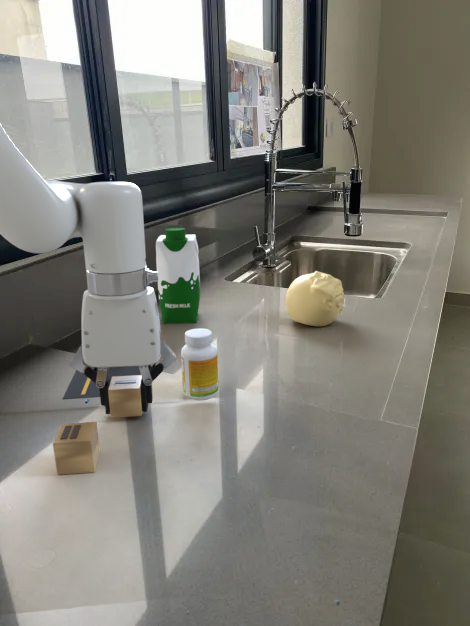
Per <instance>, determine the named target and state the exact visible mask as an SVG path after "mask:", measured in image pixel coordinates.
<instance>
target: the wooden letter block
mask: <svg viewBox="0 0 470 626" xmlns="http://www.w3.org/2000/svg"><path fill="white" fill-rule="evenodd" d="M141 381H142V376H141V375H134V376H113V377H112V379H111V382H110V385H109V389H108V395H109V405H110V414H109V415H110V418H113V419H114V418H129V417H142V416H143V413H144V412H143V411H142V403H141Z"/></svg>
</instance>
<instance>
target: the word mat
mask: <svg viewBox="0 0 470 626" xmlns="http://www.w3.org/2000/svg"><path fill="white" fill-rule="evenodd" d="M97 368H98V367H97ZM134 375H141V373H140V369H139V366H124V367H109V371H108V376H109V377H110V378H111V379H112V377H113V376H134ZM91 398H100V390H99V388H98V387H97V386H96V383H95V382H93V381H92V380H91V379H89V378H88V377H87V376H85V374H84V373H81V372H79V371H77V370H75V372H74V374H73V376H72V378H71V380H70V382H69V385H68V387H67V389H66V391H65V392H64V395H63V397H62V400H72V399H73V400H75V399H91Z"/></svg>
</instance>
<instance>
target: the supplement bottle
mask: <svg viewBox="0 0 470 626" xmlns="http://www.w3.org/2000/svg"><path fill="white" fill-rule="evenodd" d="M184 342H185V345H184V346H182V347H181V351H180V359H181V360H180V361H181V377H182V393H183V394H184V396H186V397H187V398H189V399H193V400H195V401H202V400H203V401H205V400H209V399H210V398H212V397H214V396H216V395H217V394H218V393H219V390H220V389H219V387H220V385H219V361H218V360H219V359H218V358H219V357H218V356H219V355H218V347H217V346H216V345H215V344H214V343H213V332H212V330H210V329H209V328H203V327H199V328H198V327H197V328H192V329H191V328H190V329H189V330H186V331H185V332H184Z"/></svg>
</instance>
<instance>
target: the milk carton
mask: <svg viewBox="0 0 470 626" xmlns="http://www.w3.org/2000/svg"><path fill="white" fill-rule="evenodd" d="M164 230H165V231H164V233H165V234H160V235H159V236H157V239H156V241H155V253H156V254H155V255H156V256H155V263H156V265H155V266H156V272H158V282H157V292H158V293H157V294H158V302H159V308H160V314H161V319H162V324H163V325H167V324H168V325H174V324H176V325H179V324H197V321H198V314H199V308H200V302H201V301H200V300H201V277H200V276H201V275H200V274H201V273H200V259H199V254H200V253H199V251H200V250H199V245H198V241H197V235H196V234H195V233H194V234H186V228H185V227H168V228H165V229H164Z"/></svg>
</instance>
